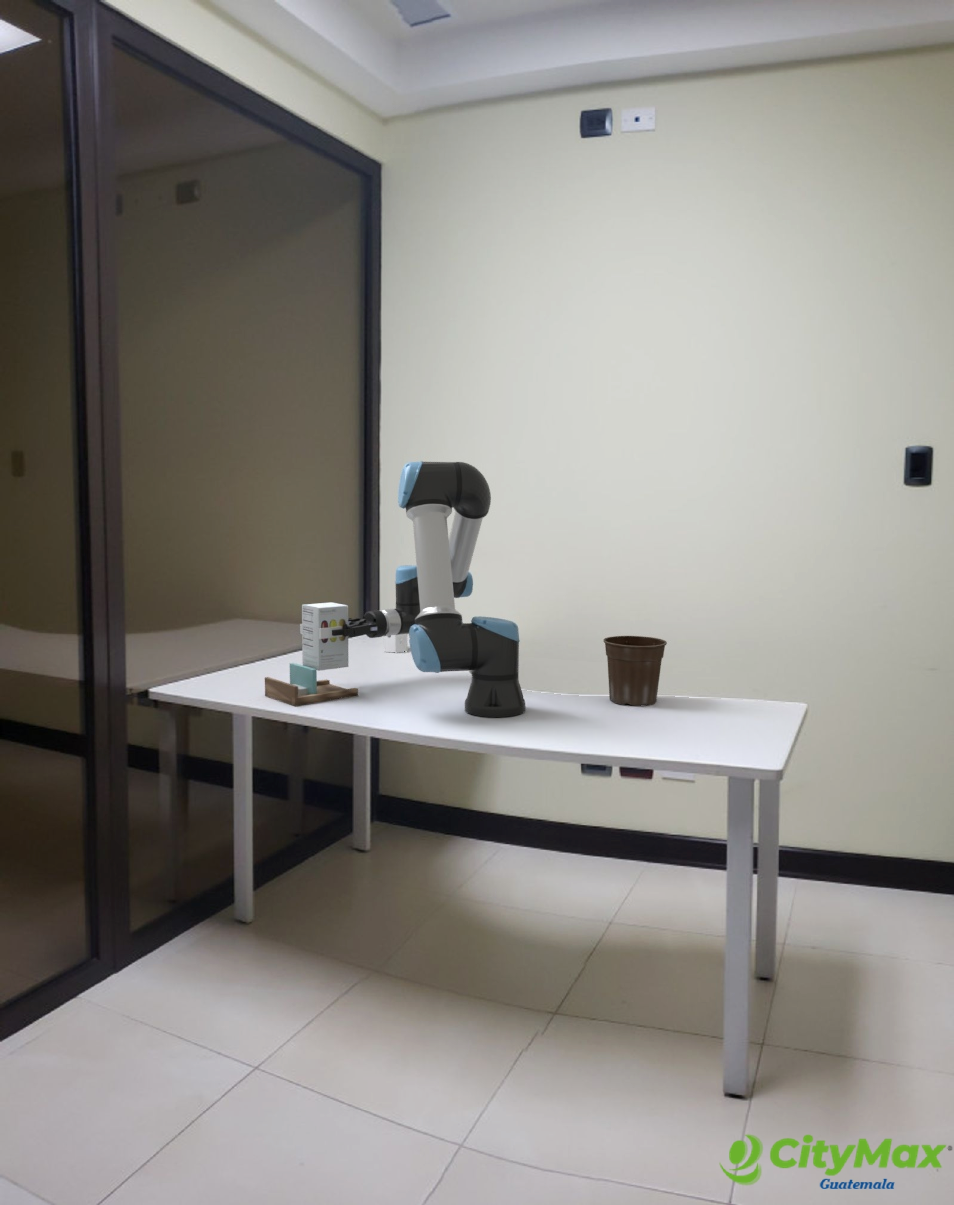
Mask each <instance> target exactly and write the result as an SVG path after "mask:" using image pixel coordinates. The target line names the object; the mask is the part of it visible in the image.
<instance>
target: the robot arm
mask: <svg viewBox="0 0 954 1205" xmlns="http://www.w3.org/2000/svg"><path fill="white" fill-rule="evenodd" d="M400 472H401V473H400V478H399V483H398V493H397V495H398V496H397V500H398V501H397V502H398V503H397V504H398V506H399V508H400V509H405V514H406V517H407V518H408V519H410V520H411V522H412V527H413V538H414V549H415V550H414V551H415V552H414V553H415V562H416V563H415V564H416V565H415V564H414V565H412V564H411V565H399V566H397V568H396V569H395V581H394V584H395V608H387V609H385V608H384V609H379V610H370V611H367V612H365V614H364V615H363V617H362V618H361V617H354V618H351V617H348V626H347V624H343V629H342V626H337V627H328V628H319V639H325V638H334V637H342V635H343V636H345V637H346V636H348V638H354V637H358V636H367V637H368V638H369V639H376V638H382V637H384V636H388V638H391V635H400V634H407V635H408V636H409V640H408V641H409V642H408V643H409V647H410V654H411V657H412V660H413V663H414V665H415V667H416V669H418V671H420V672H422V673H435V674H439V673H443V672H445V673H446V672H447V673H448V672H465V671H469V672H470V671H471V682H470V685H469V688H468V692H467V696H466V698H465V701H464V711H465V713H466V714H470V715H471V716H473V715H474V716H476V717H485V718H506V717H507V718H509V717H515V716H519V715H522V714H525V712H526V701H525V698H524V695H523V694H524V693H523V691H522V687H521V684H520V681H519V672H520V671H519V669H520V668H519V666H520V664H519V660H520V659H519V656H520V653H519V651H520V650H519V649H520V648H519V647H520V642H521V641H520V635H519V633H520V632H519V627H518V624H517V623H516V622H514V621H511V620H508V619H503V618H498V617H490V616H473V617H471V620H470V622H471V623H470V622H469V623H467V622H466V623H464V622H463V614H461V613H460V612H459V611H458V610H457V609H456V605H455V604H456V603H455V599H459V598H466V597H470V596H471V595H472V594H473V586H474V579H473V578H474V577H473V575H472V573H471V572H470V571H469V570H470V566H471V563H472V560H473V559H472V558H473V556H474V552H475V548H476V544H477V541H478V537H479V534H480V531H481V530H480V529H481V527H482V526H481V525H482V522H483V519H484V518H485V517H486V516H487V515H488V514H489V511H490V508H491V502H492V497H491V490H490V486H489V483H488V482H487V480H486V477H485V476H484V475H483V473H482V472H481V471H480V470H479V469H478V468H477V467H475V466H473V465H472V464H470V463H467V462H464V461H423V460H420V461H410V462H407V463H405V464H404V465H403V467H402V470H401V471H400ZM453 509H454V515H453V520H452V525H451V528H450V533H449V529H448V518H449V516H451V514H452V513H453ZM299 628H300V630H299V632H300V633H299V634H300V635H302V623H299Z"/></svg>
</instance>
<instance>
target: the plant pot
mask: <svg viewBox="0 0 954 1205" xmlns="http://www.w3.org/2000/svg"><path fill="white" fill-rule="evenodd" d="M603 643H604V646H605V647H604V648H605V656H606V657H607V658H606V659H607V661H606V662H607V674H608V676H607V677H608V690H609V691H608V692H609V694H608V695H609V696H608V697H609V701H611V702H612V703H614V704H618V705H623V706H625V705H627V704H628V705H630V706H637V707H638V706H639V707H642V706H641V705H646V706H650V704H651V705H654V704H655V703H656V702H657V700H658V691H659V690H658V689H659V681H660V676H661V667H662V660H663V658H664V656H665V655H664V654H665V649H666V648H665V647H666V646H667V644H668V641H667V640H664V639H663V638H662V639H661V638H659V637H652V636H643V635H642V636H641V635H640V636H639V635H614V636H608V637H605V638H604V639H603ZM653 703H654V704H653Z"/></svg>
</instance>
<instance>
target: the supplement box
mask: <svg viewBox="0 0 954 1205" xmlns="http://www.w3.org/2000/svg"><path fill="white" fill-rule="evenodd" d="M348 618H349V605H347V604H341V603H337V602H332V601H331V602H321V603H318V602H317V603H310V604H309V603H307V604H302V605H301V622H302V623H301V624H302V634H301V636H302V638H301V639H302V640H301V641H302V647H301V648H302V649H301V650H302V652H301V653H302V665H303V666H306V667H310V668H313V669H316V671H318V672H319V671H325V670H334V669H342V668H343V669H344V668H349V636H346V637H345V636H343V635H342V637H334V638H325V639H319V628H328V627H337V626H342V629H343V624H347V626H348Z"/></svg>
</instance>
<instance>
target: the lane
mask: <svg viewBox="0 0 954 1205" xmlns="http://www.w3.org/2000/svg"><path fill="white" fill-rule="evenodd" d="M264 696H265V697H267V696H268V697H267V698H270V699H274V700H276V701H278V700H279V702H282V703H284V704H288V705H291V706H293V707H298V706H306V705H311V704H318V703H323V702H329V701H330V702H331V701H335V700H343V699H348V698H354V697H359V688H358V687H351V688H344V687H342V686H338V685H334V684H331V683H330V680H329V679H321V680H317V694H312V695H304V696H298V686H295V685H292V684H290V682H289V683H288V682H285V681H283V680H279V679H275V678H273V677H270V676H266V677H264Z"/></svg>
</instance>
